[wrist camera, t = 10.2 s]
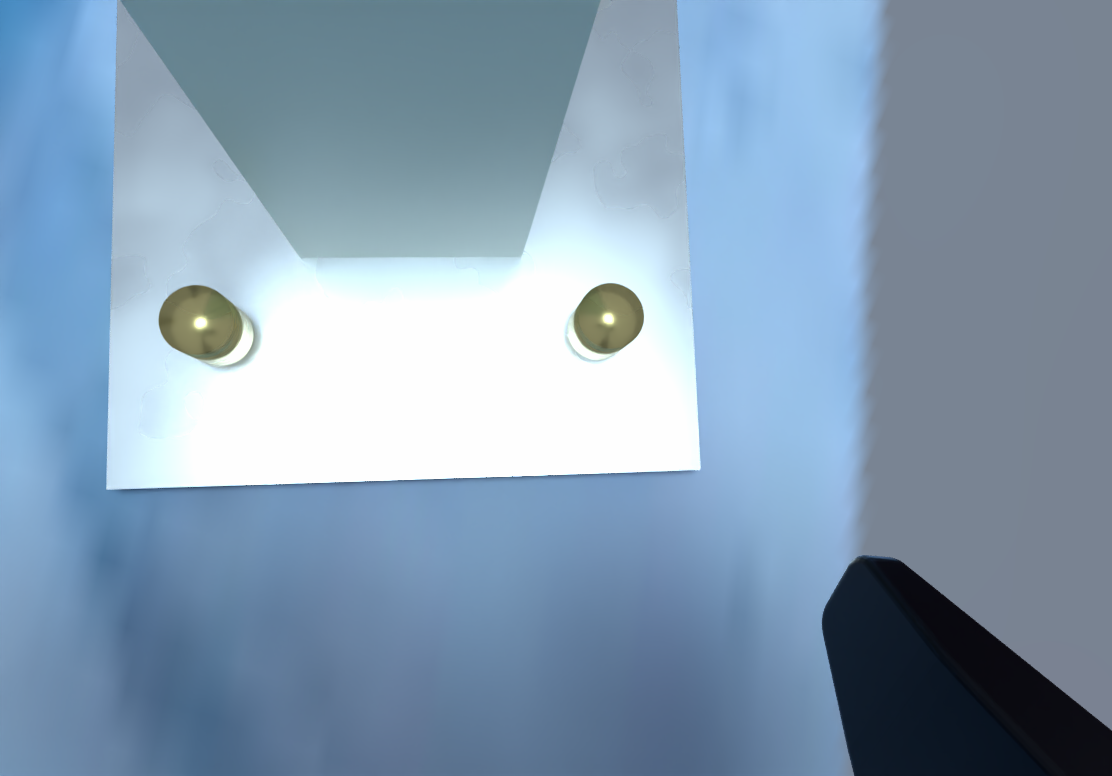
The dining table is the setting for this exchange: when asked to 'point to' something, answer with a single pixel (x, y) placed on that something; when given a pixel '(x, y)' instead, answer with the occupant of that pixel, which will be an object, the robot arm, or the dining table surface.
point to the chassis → (406, 305)
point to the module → (382, 112)
